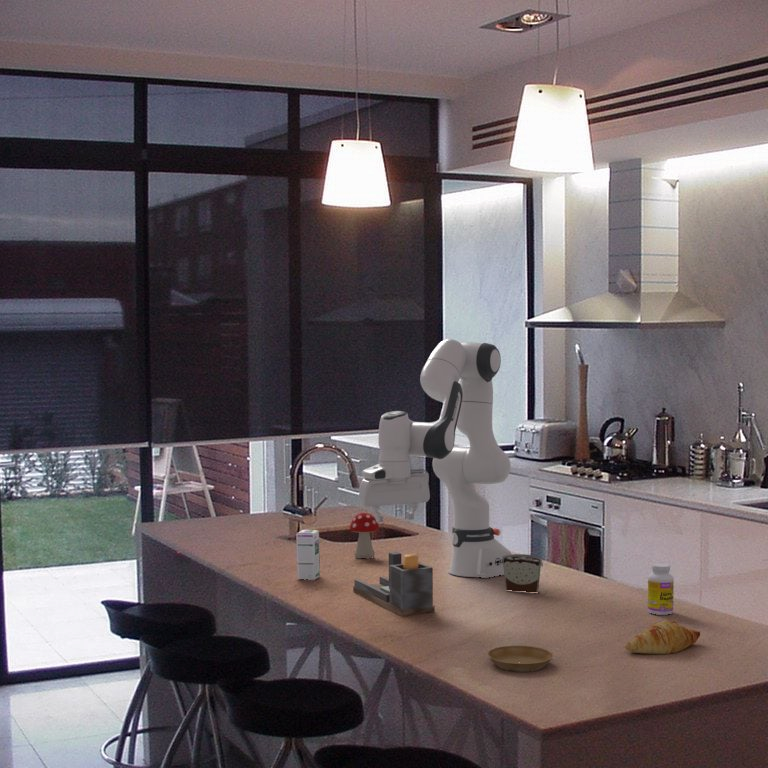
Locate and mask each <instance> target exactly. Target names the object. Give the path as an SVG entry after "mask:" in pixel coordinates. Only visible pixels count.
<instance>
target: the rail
mask: <svg viewBox="0 0 768 768" xmlns="http://www.w3.org/2000/svg"><path fill="white" fill-rule="evenodd" d="M389 566H390V594H388V593H386V592H384V591H382V590H380V587H385V586H389V577H385V576H383V575H382V576H379V583H374V584H369V583H367V582H365V581H363V580H361V579H359V578H358V579H357V578H354V585H353V587H352V588H353V589H352V591H354V592H353V593H355V592H356V593H355V594H357V593H358V594H357V595H359V594H360V595H359V596H361V595H362V597H363V596H364V597H363V598H365V597H366V598H365V599H367V598H368V599H367V600H369V599H370V600H369V601H371V602H373V603H375V604H377V605H378V604H379V606H380V605H381V606H380V607H382V606H383V608H385V609H387V610H388V611H390V612H392V613H394V614H396V615H398V616H400V617H405V616H411V615H412V614H413V615H418V613H421V614H427V613H426V612H429V613H433V612H432V611H435V605H434V597H433V595H434V587H433V585H434V583H433V582H434V580H433V578H434V576H433V575H434V573H433V567H432V566H429V565H427V564H425V563H422V562H419V561H418V568H417V569H407V570H404V565H403V563H402V564H398V565H389V564H388V567H389ZM404 615H405V616H404Z"/></svg>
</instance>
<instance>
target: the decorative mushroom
mask: <svg viewBox="0 0 768 768" xmlns="http://www.w3.org/2000/svg"><path fill="white" fill-rule="evenodd" d="M379 530H380V525H379V522H376V516H374V515H372V514H371V513H368V512H360V513H358V514H356V515H355V516H354V517H353V518H352V520H351V522H350V526H349V531H351V532H353V533H358V539H357V543H356V544H357V545H356V548H355V550H354V551H355V552H354V557H355V558H356V559H357V558H372V557H375V555H376V552H375V551H374V548H373V545H372V544H373V543H372V540H371V539H372V538H371V534H370V533H375V532H378V531H379ZM372 559H373V558H372Z"/></svg>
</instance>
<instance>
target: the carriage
mask: <svg viewBox="0 0 768 768" xmlns="http://www.w3.org/2000/svg"><path fill="white" fill-rule="evenodd" d="M398 564H403V562H402V553H401V552H398V551H393V552H392V551H391V552H388V579H389V586H385V587H380V590H382V591H384V592H386V593H388V594H390V566H389V565H398Z"/></svg>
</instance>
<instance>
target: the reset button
mask: <svg viewBox="0 0 768 768" xmlns="http://www.w3.org/2000/svg"><path fill="white" fill-rule="evenodd" d="M402 556H403V557H402V558H403V562H402V564H403V565H404V570H407V569H417V568H418V562H419V555H418V554H415V553H407V554H403V555H402Z"/></svg>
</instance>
